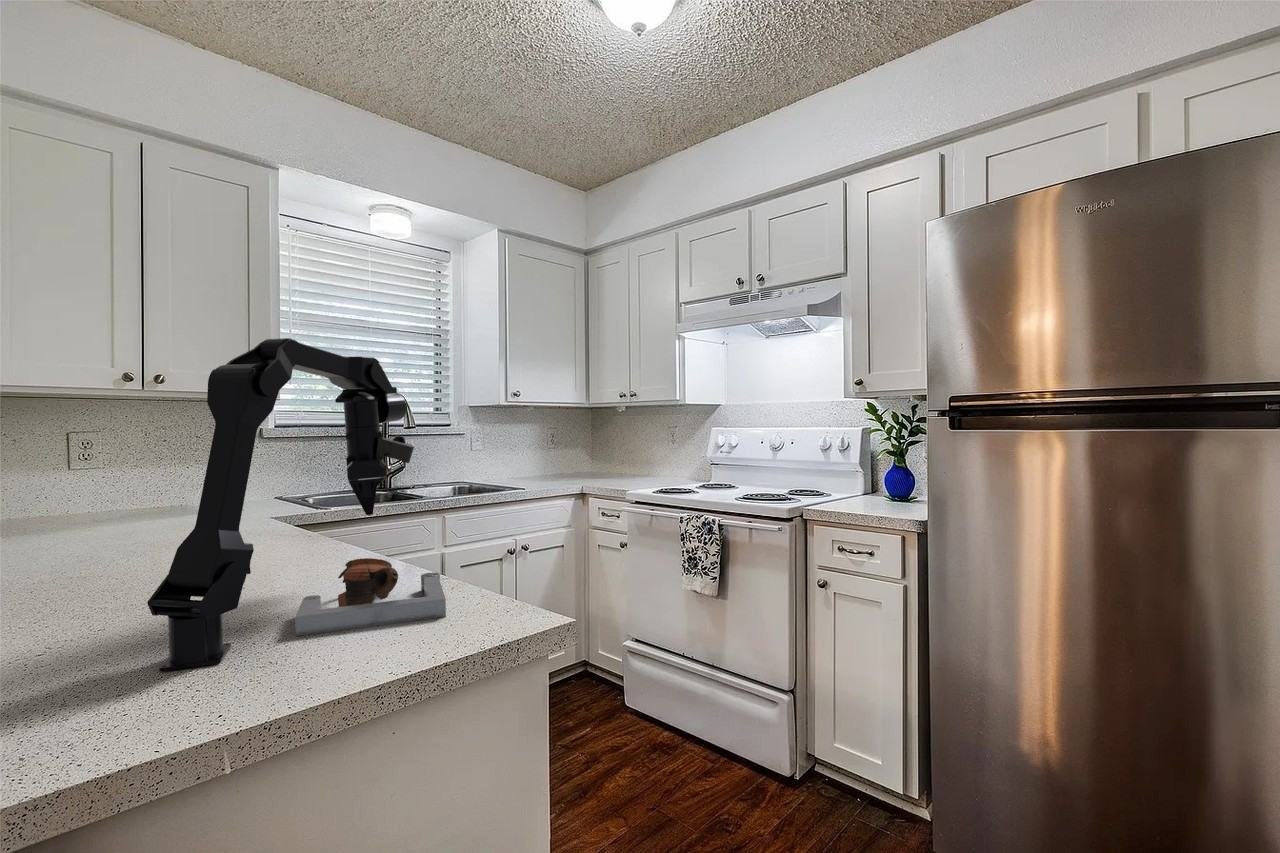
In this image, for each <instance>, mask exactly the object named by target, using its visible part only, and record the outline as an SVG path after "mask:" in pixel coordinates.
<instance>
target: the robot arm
mask: <svg viewBox="0 0 1280 853" xmlns="http://www.w3.org/2000/svg"><path fill="white" fill-rule="evenodd" d="M293 370H296V371H299V372H304V373H307V374H312V375H316V376H320V377H323V378H325V379H328V380H329V382H330V383H331V384H332V385H334V386H336V387H338V388H340V389H342V391H341V393H340V394H339V395H337V396H336V398H335V400H334V402H335V403H338V404H343V411H344V425H345V439H346V453H347V454H346V458H345V459H346V472H347V473H346V474H347V476H346V477H347V481H348V484H349V485H350V487H351V489H352V491H353V493H354V495H355V497H356V498H357V500H358V502H359V504H360V506H361V507H362V510H363V511H364V513H365V515H366V516H372V515H373V514H374V508H375V501H376V496H377V490H378V486H379V485H380V484H381V483H382V482H383V481H385V480H386V478H387V476H388V473H387V465H386V463H385V462H384V461H383V460H385V458H390V459H394V460H397V461H401V462H402V463H405V464H410V461H411V458H412V455H413V451H414V448H415V447H414V446H413V445H412V444H410V443H406V439H405V437H404V436H401V435H395V436H393V438H392V439H391V438H386V437H384V436H383V432H382V430H380V424H384V423H391V422H397V421H400V420H402V419H403V418H404V417H405V416H406V414H407V412H408V404H407V403H406V400H405V398H404V396H402V395H401V394H400V393H398V390H397V387H396V386H392V384H391V382H390V380H389V378H388V377H387V375H386V372H385V371H384V369H383V367H382V366H381V364H380V361H379V360H378V359H377V358H376V357H374V356H349V355H347V356H345V355H342V354H338V353H334V352H331V351H327V350H325V349H320V348H317V347H315V346H311V345H308V344H305V343H301V342H299V341H297V340H295V339H293V338H290V337H288V338H267V339H265V340H263V341H261V342H260V343H258V344H256V346H255V347H254V348H252V349H250V350H248V351H246V352H245V353H242V354H240V355H238V356H236V357H234V358H232V359H231V360H230V361H228V362H227V363H226V364H223V365H219V366H218V367H216V368H214V369H212V370H211V372H210V374H209V376H208V379H207V395H206V396H207V399H206V400H207V401H206V403H207V406H208V409H209V411H210V414H211V416H212V418H213V420H214V424H215V425H214V430H213V435H212V440H211V447H210V451H209V455H208V461H207V465H206V472H205V476H204V481H203V485H202V486H203V487H202V491H201V497H200V501H199V505H198V510H197V516H196V522H195V526H194V528H193V529H192V530H191V532H190V533H189V534H188V536H187V535H186V536H187V537H186V538H184V539H183V541H182V542H181V544H179V546H178V547H177V548H176V552H175V554H174V558H173V559H172V562H171V566H170V569H169V571H168V574H167V575H166V576H165V578H164V579H163V581H162V582H161V583H160V584H159V585H158V587H157V589H155V591H154V593H153V594H152V595H151V596H150V598H148V600H147V607H148V608H149V611H150V613H151V615H152V616H153V617H156V616H163V617H164V616H165V617H166V616H167V622H168V627H167V628H168V650H169V651H168V652H169V653H168V654H169V655H168V657H167V658H166V659H165V660H164V661H162V662H163V663H162V664H160V665H159V667H158V670H159V672H168V671H173V670H181V669H186V668H187V669H189V668H195V667H201V666H203V667H204V666H209V665H216V664H219V663H221V662H222V661H223V660H224V658H225V657H226V655H227V654H228V652H229V651H230V649H231V648H232V643H231V642H226V643H224V633H223V631H224V629H223V627H224V626H223V625H224V624H223V614H225V613H228V612H232V611H233V610H236V609H237V608H238V606H239V603H240V599H241V596H242V591H243V587H244V583H245V582H246V578H247V575H250V574H251V572H252V571H251V561H252V557H253V553H254V551H255V550H254V548H255V547H254V544H253V543H249V542H247V543H246V542H245V541H244V539H243V536H242V534H241V531H240V526H241V518H242V516H243V514H242V513H243V508H244V503H245V498H246V492H247V485H248V482H249V481H248V480H249V476H250V471H251V470H250V469H251V464H252V459H253V453H254V448H255V443H256V438H257V437H256V436H257V432H258V429H259V427H260V426H261V425H262V423H263V422H264V421H265V420H266V419H267V418H268V416H270V414H271V413H272V412H273V411H274V408H275V405H276V402H277V398H278V396H279V392H280V390H281V389H282V388H283V387H284V386H285V385H286V384H287V383H288V382H289V381H290V380H291V379H292V374H293ZM191 597H197V598H198V597H199V598H202V599H201V600H199V599H191Z"/></svg>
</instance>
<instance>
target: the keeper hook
mask: <svg viewBox="0 0 1280 853" xmlns="http://www.w3.org/2000/svg"><path fill="white" fill-rule="evenodd" d="M440 576H441V573H439V572H426V573H423V574H421V575H420V589H421V590H420V591H421V593H423V594H424V595H423V596H421V597H414V598H412V597H411V598H403V599H394V600H388V601H387V600H386V601H378V602H373V603H369V604H360V605H352V606H343V607H339V606H337V607H328V608H322V607H321V606H322V605H321V604H322V603H321V601H322V600H321V599H322V598H321V595H318V594H317V595H309V596H308V595H307V596H305V597H303V598H302V600H301V603H300V604H299V605H300V606H299V607H298V609H297V611H296V614H295V617H294V619H295V620H294V622H295V623H294V624H295V626H294V627H295V628H294V629H295V637H301V636H306V635H307V636H308V635H316V634H324V633H331V631H332V632H339V631H345V630H346V631H347V630H353V629H361V628H368V627H376V626H377V627H378V626H384V625H392V624H398V623H399V624H400V623H401V624H402V623H406V622H408V623H409V622H414V621H415V622H416V621H423V620H430V619H431V620H432V619H438V618H445V617H447V602H446V596H445V593H444V590H443V587H442V583H441V577H440ZM323 632H324V633H323ZM300 635H301V636H300Z"/></svg>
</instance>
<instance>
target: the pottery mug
mask: <svg viewBox="0 0 1280 853" xmlns="http://www.w3.org/2000/svg"><path fill="white" fill-rule="evenodd" d="M392 565H393V564H391V562H389V561H387V560H386V559H380V558H374V557H373V558H365V557H364V558H362V557H361V558H356V559H352V560H349V561H348V562H347V561H346V563H345V565H344V566H345V567H346V568H344V569H343V571H342V572H341V573H340V574H339V576H338V579H342V578H343V580H342V583H343V584H344V585H345V591H344V592H342V593H339V594H338V595H337V600H338V601H337V602H338V607H343V606H352V605H360V604H369V603H374V598H375V596H376V597H377V598H378V599H379V600H381V601H382V600H385V599H387V598H388V597H389V593H391V592H392V591H393V589H394V588H395V586H397V583H398V579H399V573H398V571H397V570H396V569H395V568H393V567H392Z"/></svg>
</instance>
